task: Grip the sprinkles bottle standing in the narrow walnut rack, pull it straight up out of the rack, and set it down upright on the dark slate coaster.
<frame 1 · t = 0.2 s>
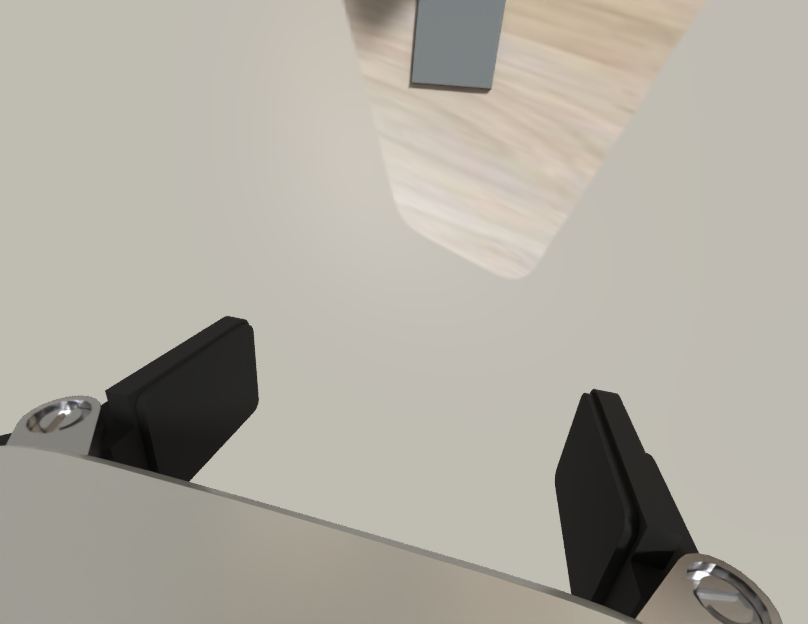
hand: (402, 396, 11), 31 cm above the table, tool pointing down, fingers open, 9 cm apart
slate coaster: (457, 38, 33), on the table
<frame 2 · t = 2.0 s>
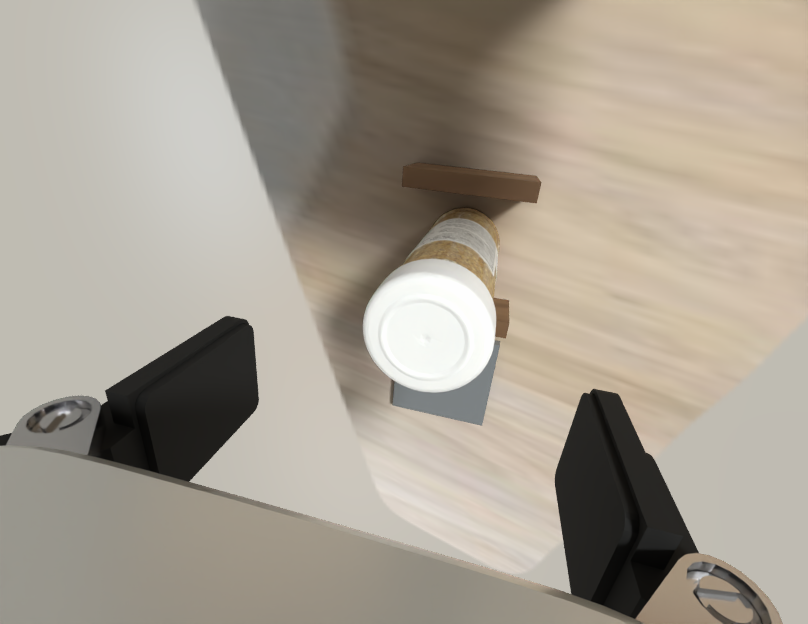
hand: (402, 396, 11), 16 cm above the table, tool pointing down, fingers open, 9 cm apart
walnut rack: (463, 242, 25), on the table
slate coaster: (443, 373, 29), on the table
sprinkles bottle: (464, 241, 25), on the table
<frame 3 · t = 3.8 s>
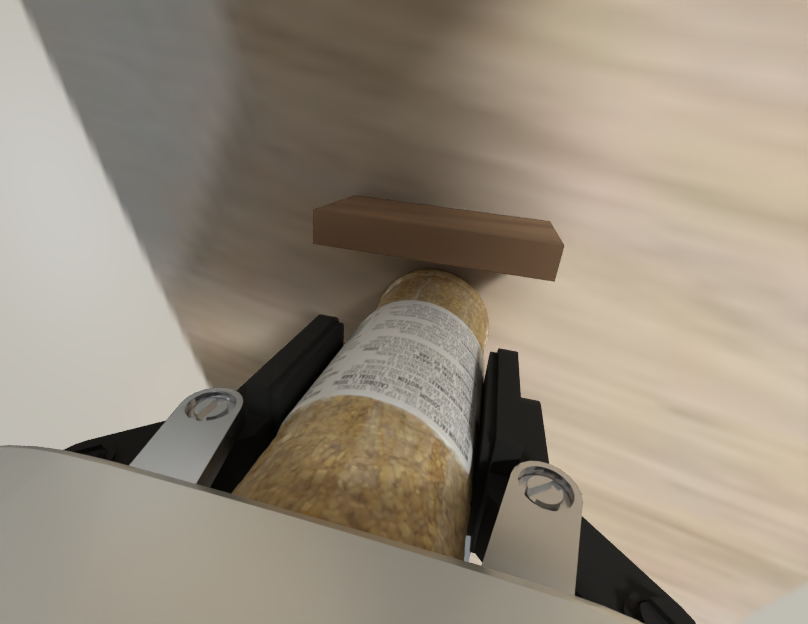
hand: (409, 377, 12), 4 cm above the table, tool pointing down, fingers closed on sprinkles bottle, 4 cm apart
walnut rack: (432, 319, 16), on the table
sprinkles bottle: (433, 317, 16), on the table, touching gripper
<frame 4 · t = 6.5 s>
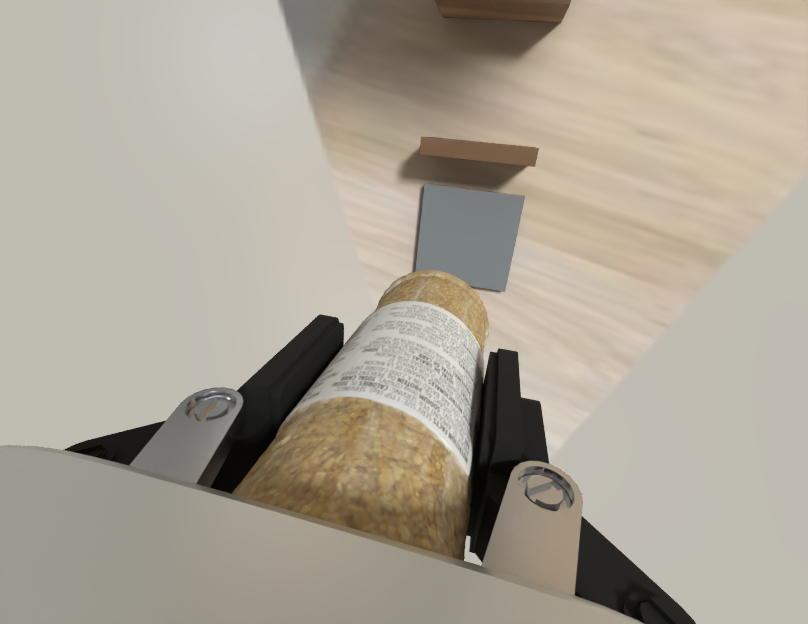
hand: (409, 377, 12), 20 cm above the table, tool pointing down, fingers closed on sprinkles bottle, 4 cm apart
walnut rack: (490, 84, 25), on the table
slate coaster: (466, 237, 29), on the table
sprinkles bottle: (433, 318, 16), point 15 cm above the table, touching gripper
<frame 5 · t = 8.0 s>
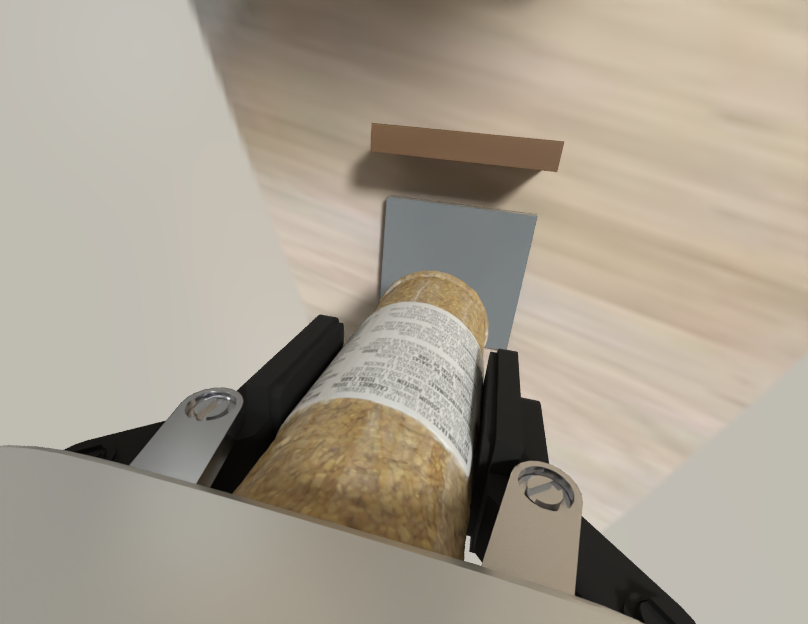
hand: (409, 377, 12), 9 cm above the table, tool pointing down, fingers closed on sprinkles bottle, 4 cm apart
walnut rack: (485, 41, 16), on the table
slate coaster: (450, 273, 20), on the table
sprinkles bottle: (433, 318, 16), point 5 cm above the table, touching gripper
when the fingers open (6 cm above the table, at t = 9.4 s): sprinkles bottle stays where it is, resting on slate coaster.
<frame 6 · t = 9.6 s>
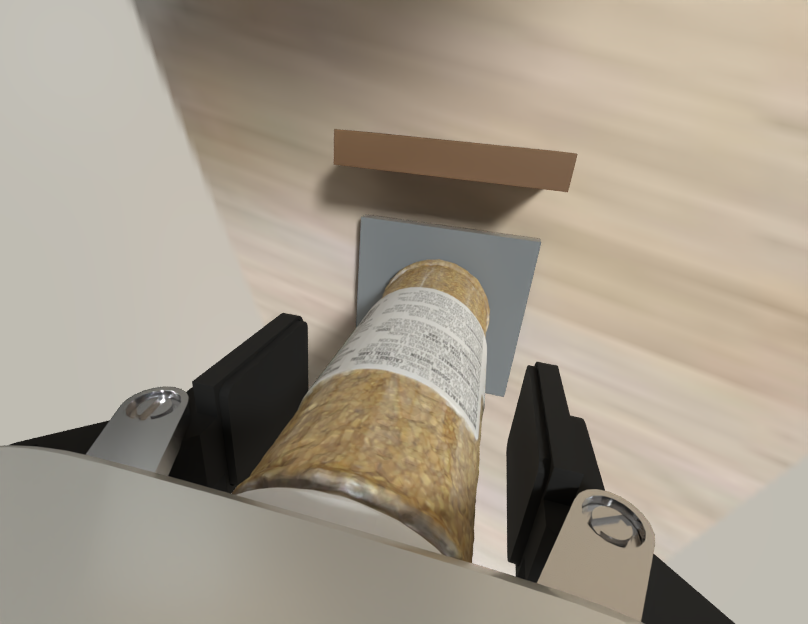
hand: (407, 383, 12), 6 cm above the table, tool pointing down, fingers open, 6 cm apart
walnut rack: (476, 29, 13), on the table
slate coaster: (438, 306, 17), on the table
sprinkles bottle: (436, 306, 17), resting on slate coaster
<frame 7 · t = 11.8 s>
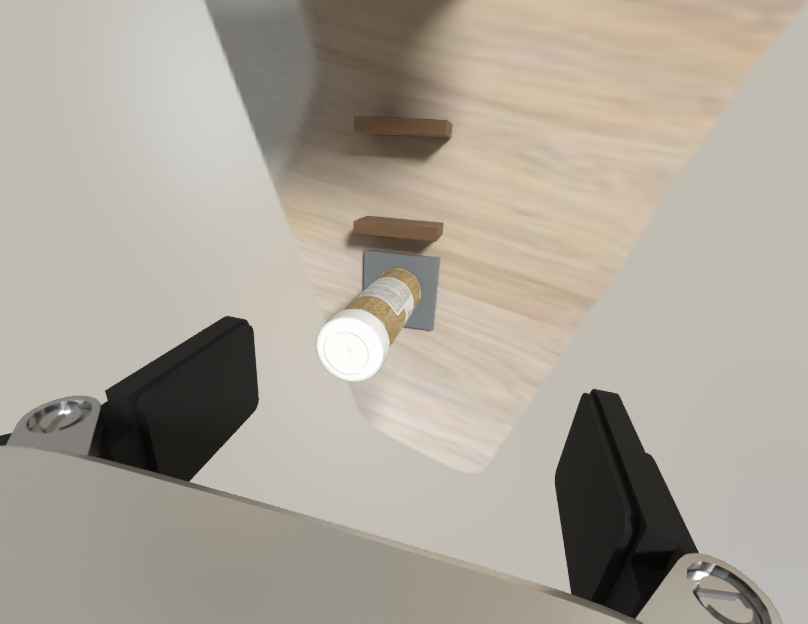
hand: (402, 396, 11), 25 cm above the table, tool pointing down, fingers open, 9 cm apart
walnut rack: (406, 179, 34), on the table
slate coaster: (400, 289, 37), on the table
sprinkles bottle: (399, 288, 37), resting on slate coaster
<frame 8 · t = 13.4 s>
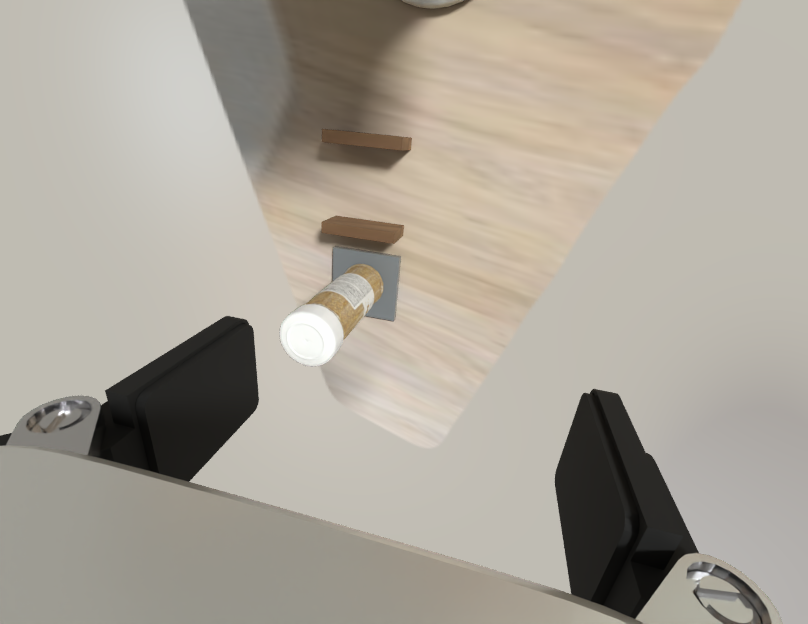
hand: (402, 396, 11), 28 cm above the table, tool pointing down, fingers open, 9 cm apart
walnut rack: (371, 184, 37), on the table
slate coaster: (366, 283, 41), on the table
sprinkles bottle: (364, 282, 41), resting on slate coaster
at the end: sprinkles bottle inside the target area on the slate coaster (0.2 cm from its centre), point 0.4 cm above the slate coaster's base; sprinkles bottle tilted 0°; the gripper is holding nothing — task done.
